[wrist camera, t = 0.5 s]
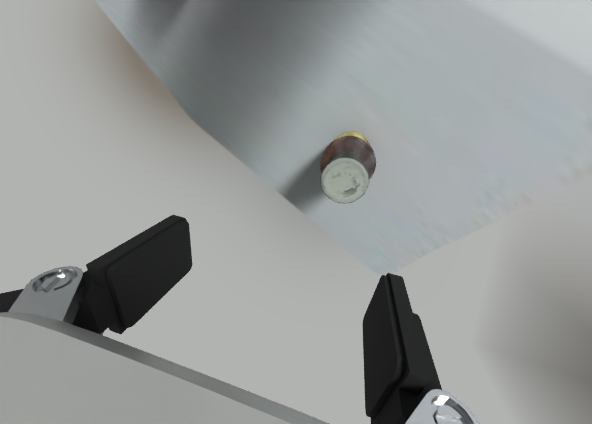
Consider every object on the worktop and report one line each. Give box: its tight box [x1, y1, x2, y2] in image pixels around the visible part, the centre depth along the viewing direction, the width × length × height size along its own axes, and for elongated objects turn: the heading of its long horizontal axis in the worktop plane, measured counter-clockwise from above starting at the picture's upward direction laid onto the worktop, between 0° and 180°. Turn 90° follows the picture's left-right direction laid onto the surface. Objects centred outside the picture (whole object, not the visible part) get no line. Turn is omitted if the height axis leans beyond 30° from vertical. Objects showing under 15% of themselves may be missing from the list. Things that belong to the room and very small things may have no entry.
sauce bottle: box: [321, 132, 376, 204], centre depth 27 cm, size 7×6×20 cm
